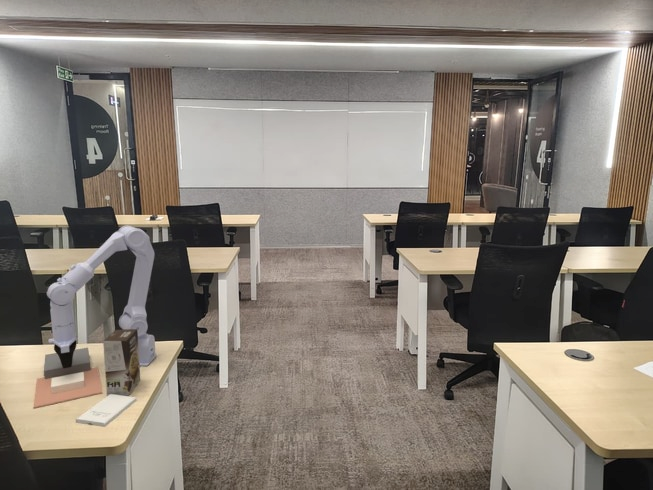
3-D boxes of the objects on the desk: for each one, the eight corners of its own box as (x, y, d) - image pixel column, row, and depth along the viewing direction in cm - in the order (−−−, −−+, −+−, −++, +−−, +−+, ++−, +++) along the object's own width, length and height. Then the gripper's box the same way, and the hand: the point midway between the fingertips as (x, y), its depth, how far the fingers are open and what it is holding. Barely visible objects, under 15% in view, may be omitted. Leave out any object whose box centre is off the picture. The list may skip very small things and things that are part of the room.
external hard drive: (136, 402, 118) (104, 428, 106) (109, 399, 120) (75, 424, 108) (136, 397, 118) (104, 422, 106) (109, 393, 119) (75, 418, 107)
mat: (36, 379, 129) (36, 378, 128) (97, 368, 137) (97, 366, 137) (33, 408, 113) (33, 407, 113) (102, 393, 121) (102, 392, 121)
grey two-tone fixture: (46, 363, 139) (45, 354, 139) (88, 355, 145) (88, 347, 145) (44, 380, 128) (43, 370, 128) (90, 371, 134) (90, 362, 134)
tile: (51, 387, 120) (51, 393, 120) (84, 380, 124) (84, 386, 124) (51, 378, 125) (52, 384, 125) (83, 371, 129) (83, 378, 129)
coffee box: (130, 395, 120) (126, 340, 118) (106, 396, 120) (101, 340, 117) (141, 380, 129) (138, 328, 127) (119, 380, 129) (115, 328, 126)
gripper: (47, 318, 131) (52, 360, 133) (46, 333, 119) (50, 380, 121) (74, 314, 134) (78, 355, 137) (75, 329, 122) (79, 374, 124)
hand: (67, 366), depth 129 cm, fingers closed
